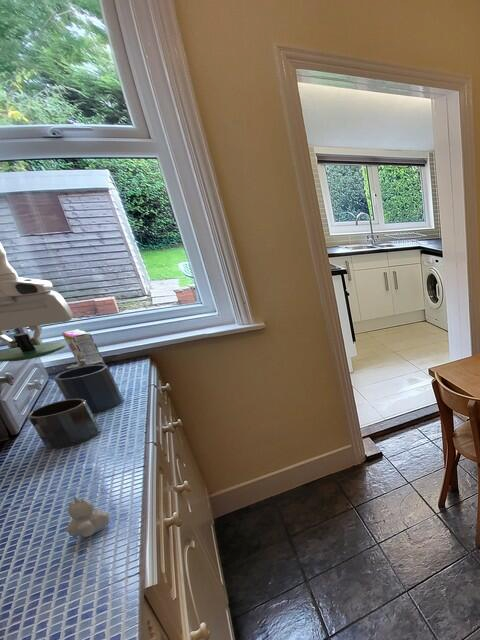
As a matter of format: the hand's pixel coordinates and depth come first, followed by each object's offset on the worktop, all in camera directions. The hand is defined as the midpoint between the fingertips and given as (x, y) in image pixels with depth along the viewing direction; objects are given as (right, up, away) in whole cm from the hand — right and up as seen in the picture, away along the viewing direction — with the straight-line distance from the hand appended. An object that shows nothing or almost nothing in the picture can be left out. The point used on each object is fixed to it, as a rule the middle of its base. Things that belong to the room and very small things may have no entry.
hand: (26, 346), depth 99 cm
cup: (+2, -23, +9) cm, 25 cm away
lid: (0, -2, +1) cm, 2 cm away
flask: (-23, -11, +39) cm, 47 cm away
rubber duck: (+41, -37, -24) cm, 60 cm away
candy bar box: (-35, -6, +51) cm, 62 cm away
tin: (-9, -16, +26) cm, 32 cm away
